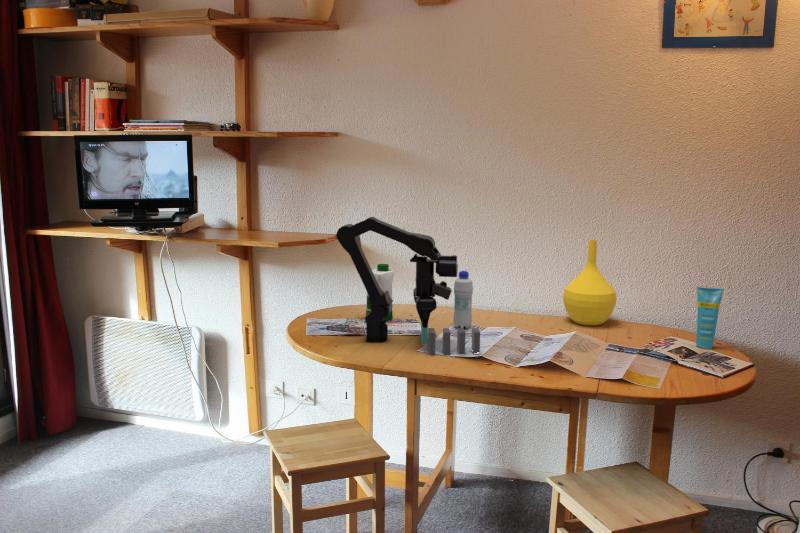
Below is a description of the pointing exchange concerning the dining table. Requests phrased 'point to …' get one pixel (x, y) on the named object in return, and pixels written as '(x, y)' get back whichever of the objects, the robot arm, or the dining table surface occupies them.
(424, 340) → the domino
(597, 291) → the vase
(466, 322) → the bottle
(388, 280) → the milk carton
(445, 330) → the domino
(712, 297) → the tube
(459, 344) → the domino
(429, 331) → the domino
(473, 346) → the domino
